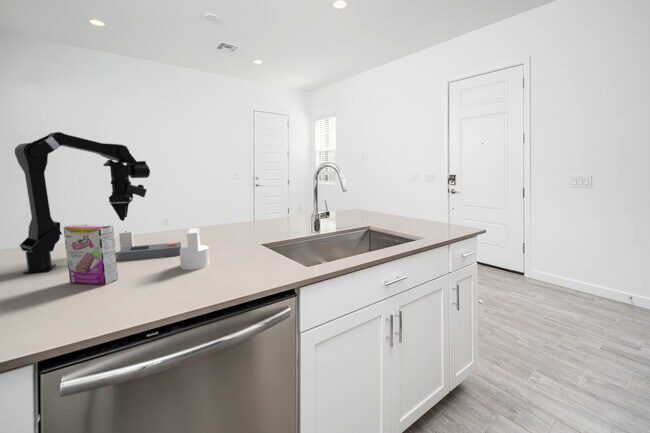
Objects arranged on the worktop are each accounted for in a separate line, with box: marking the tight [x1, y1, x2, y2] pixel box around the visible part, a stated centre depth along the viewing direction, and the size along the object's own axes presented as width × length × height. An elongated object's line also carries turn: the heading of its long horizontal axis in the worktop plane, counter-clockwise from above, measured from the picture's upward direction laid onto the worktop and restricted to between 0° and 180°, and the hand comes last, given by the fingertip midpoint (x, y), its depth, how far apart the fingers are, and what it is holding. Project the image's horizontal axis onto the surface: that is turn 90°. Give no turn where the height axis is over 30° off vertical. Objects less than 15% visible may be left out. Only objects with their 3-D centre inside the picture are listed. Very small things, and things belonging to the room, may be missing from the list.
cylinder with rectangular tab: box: [179, 227, 210, 271], centre depth 104 cm, size 9×9×12 cm
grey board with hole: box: [117, 242, 182, 262], centre depth 119 cm, size 9×26×4 cm, turn 116°
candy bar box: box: [63, 223, 119, 286], centre depth 88 cm, size 11×5×16 cm, turn 84°
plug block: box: [118, 230, 135, 249], centre depth 121 cm, size 4×4×8 cm
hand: (124, 218), depth 120 cm, fingers open, 9 cm apart
